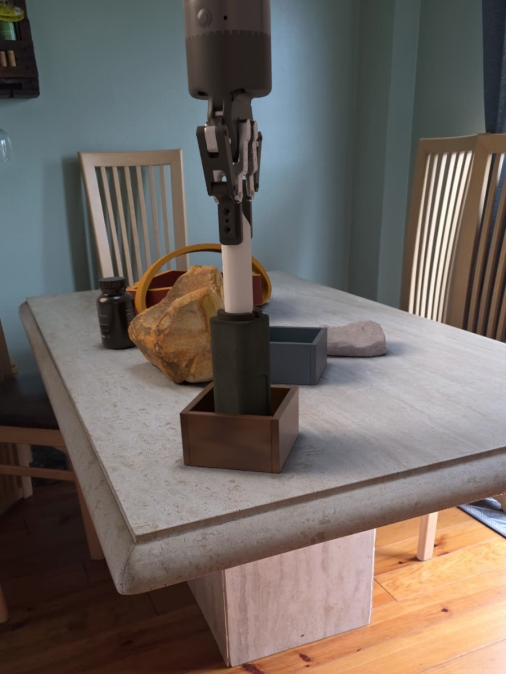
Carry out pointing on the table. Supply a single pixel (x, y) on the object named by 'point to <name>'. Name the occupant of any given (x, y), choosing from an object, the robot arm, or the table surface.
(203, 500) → the table surface
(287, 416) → the crate left
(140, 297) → the decorative basket
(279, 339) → the crate right
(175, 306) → the rough brown rock
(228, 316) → the candle
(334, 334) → the stone block
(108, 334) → the supplement bottle
